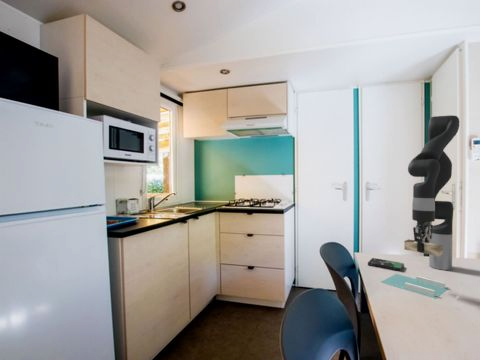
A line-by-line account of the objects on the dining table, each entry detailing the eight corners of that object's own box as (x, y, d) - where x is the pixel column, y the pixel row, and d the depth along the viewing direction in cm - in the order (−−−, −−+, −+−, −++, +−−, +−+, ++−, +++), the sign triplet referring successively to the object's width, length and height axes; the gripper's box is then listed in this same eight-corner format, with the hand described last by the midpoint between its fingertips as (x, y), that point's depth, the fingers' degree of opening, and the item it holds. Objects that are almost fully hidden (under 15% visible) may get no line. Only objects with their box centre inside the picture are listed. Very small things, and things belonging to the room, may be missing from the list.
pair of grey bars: (417, 280, 117) (417, 275, 117) (445, 287, 109) (445, 283, 109) (404, 288, 109) (404, 283, 109) (433, 296, 101) (434, 291, 101)
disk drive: (367, 267, 136) (401, 274, 127) (367, 262, 136) (401, 268, 127) (372, 262, 145) (404, 268, 136) (372, 257, 145) (404, 262, 136)
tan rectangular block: (442, 254, 106) (442, 245, 106) (438, 256, 103) (438, 246, 103) (408, 247, 115) (408, 239, 115) (404, 249, 113) (404, 240, 113)
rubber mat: (396, 274, 125) (396, 273, 125) (449, 289, 109) (449, 287, 109) (379, 283, 115) (379, 282, 115) (435, 300, 99) (435, 298, 99)
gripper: (427, 211, 102) (427, 256, 102) (440, 208, 110) (440, 250, 111) (405, 209, 108) (405, 252, 108) (419, 207, 116) (419, 246, 117)
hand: (423, 250), depth 109 cm, fingers closed on tan rectangular block, 4 cm apart
